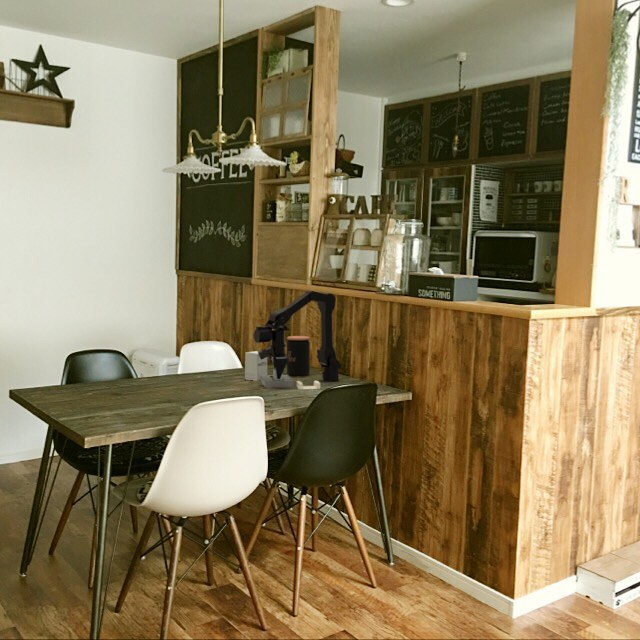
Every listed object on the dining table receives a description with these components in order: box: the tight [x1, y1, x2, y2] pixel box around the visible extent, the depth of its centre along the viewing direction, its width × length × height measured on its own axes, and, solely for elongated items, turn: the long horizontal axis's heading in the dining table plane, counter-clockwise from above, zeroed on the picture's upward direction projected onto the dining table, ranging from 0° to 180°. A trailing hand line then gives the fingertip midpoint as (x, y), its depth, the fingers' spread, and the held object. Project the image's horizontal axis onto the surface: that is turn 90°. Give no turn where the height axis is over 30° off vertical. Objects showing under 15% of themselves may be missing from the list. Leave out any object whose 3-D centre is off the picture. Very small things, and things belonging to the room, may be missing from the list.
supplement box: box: [244, 350, 268, 382], centre depth 331 cm, size 7×7×13 cm
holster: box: [295, 380, 321, 390], centre depth 307 cm, size 9×7×3 cm
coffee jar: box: [286, 335, 311, 377], centre depth 345 cm, size 11×11×18 cm
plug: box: [272, 368, 284, 380], centre depth 311 cm, size 4×4×8 cm
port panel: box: [260, 374, 294, 389], centre depth 315 cm, size 12×16×4 cm
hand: (277, 378), depth 311 cm, fingers open, 4 cm apart
